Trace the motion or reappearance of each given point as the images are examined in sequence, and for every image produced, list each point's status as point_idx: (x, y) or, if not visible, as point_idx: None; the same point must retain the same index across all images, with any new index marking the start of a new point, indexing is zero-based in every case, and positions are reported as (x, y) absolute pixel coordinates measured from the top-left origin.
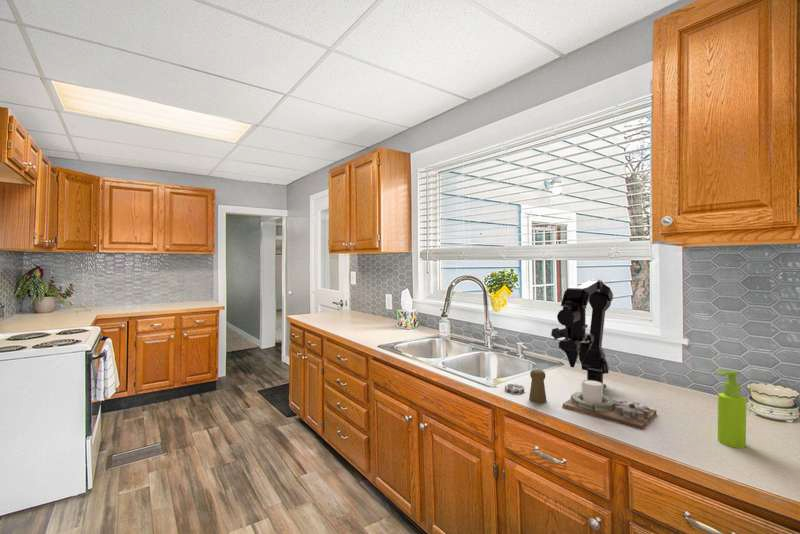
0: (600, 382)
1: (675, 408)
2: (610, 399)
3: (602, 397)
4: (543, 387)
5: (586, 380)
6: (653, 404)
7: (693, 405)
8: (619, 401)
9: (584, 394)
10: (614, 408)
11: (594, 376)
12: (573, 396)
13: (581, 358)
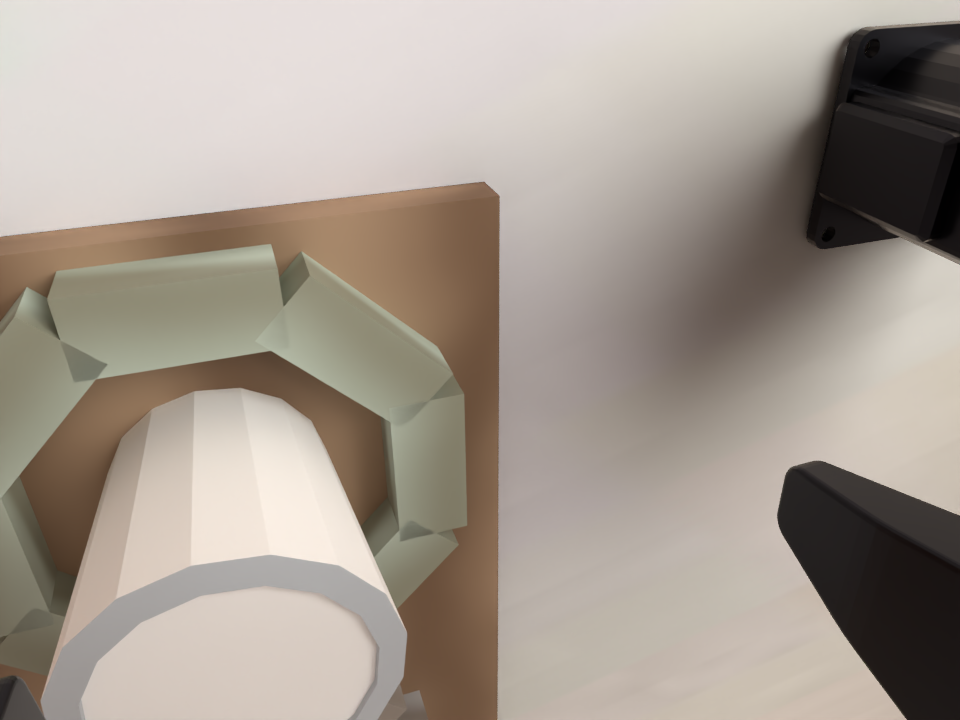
0: (367, 712)
1: (683, 713)
2: None
3: (395, 517)
4: None
5: (286, 586)
6: (677, 633)
7: (797, 716)
8: (495, 570)
9: (96, 525)
10: None
11: (943, 227)
12: (48, 344)
13: (843, 559)
